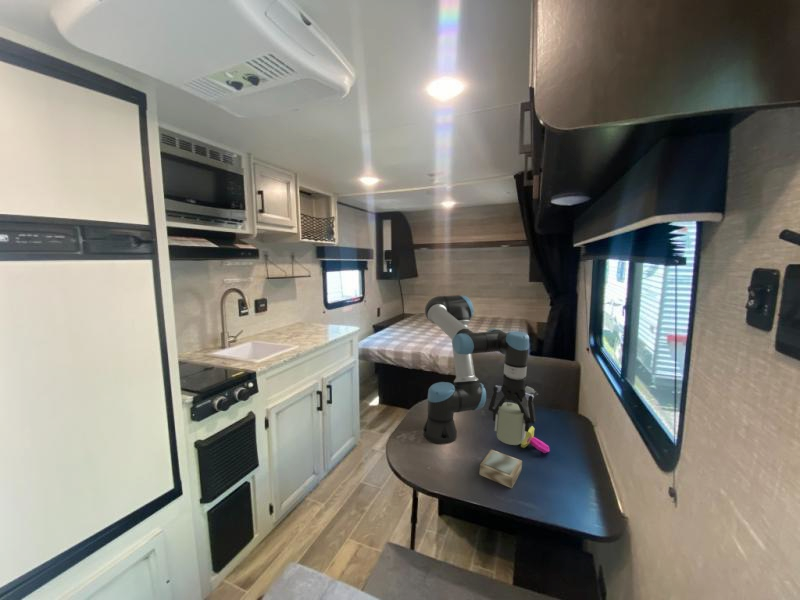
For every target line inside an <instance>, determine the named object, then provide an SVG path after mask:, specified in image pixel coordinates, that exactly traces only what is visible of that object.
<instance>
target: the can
mask: <svg viewBox="0 0 800 600" xmlns="http://www.w3.org/2000/svg"><path fill="white" fill-rule="evenodd" d="M498 412H499V415H498V428H497V431H496V438H497V439H498V440H499V441H500V442H502V443H504V444H506V445H509V446H510V445H511V446H512V445H513V446H518V445H521V443H522V442H523V440H521V438H522V426H523V422H524V418H523V415H524V413H521V410H520V408H519V406H518V404H517V403H516V402H515V403H514V402H509V401H508V402H507V401H505V402H504V403H503V405H502V406H501V407H500V406H499V410H498Z"/></svg>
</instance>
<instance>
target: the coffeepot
mask: <svg viewBox="0 0 800 600" xmlns="http://www.w3.org/2000/svg"><path fill="white" fill-rule="evenodd" d="M525 391H526V393H528V394H534V398H536V396H538V395H539V393H538V392H537V391H536V390H535V389H534V388H533V387H530V386H528V384H527V383H525ZM523 401H524V405H525V407H526V410H527V412H528V415H529V417H530V414H529V407H528V400H527V399H526V397H525V396H524V397H523Z"/></svg>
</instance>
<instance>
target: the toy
mask: <svg viewBox="0 0 800 600" xmlns="http://www.w3.org/2000/svg"><path fill="white" fill-rule="evenodd" d="M530 444H531V446H533V447H534V448H535V449H536V450H539V451H540V452H542V453H543V454H546V453H549V452H550V451H551V450H550V446H549V445H548V444H546V443H545V442H544V441H542V440H540V439H538V438H537V437H535V427H534V426H533V425H531V426H529V430H528V432H526V436H525V439H524V441H523V442H522V443H521V444H520V448H523V449H526V447H527V446H529V445H530Z"/></svg>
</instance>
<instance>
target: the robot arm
mask: <svg viewBox="0 0 800 600" xmlns="http://www.w3.org/2000/svg"><path fill="white" fill-rule="evenodd" d="M474 312H475V311H474V304H473V302H472V301H471V299H470V298H469V297H468V296H466V295H460V294H459V295H437V296H433V297H432V298H431V299H429V300H428V302H426V305H425V307H424V314H425V317H426V318H427V319H428V321H429V322H430V323H432V324H435V325H437V326H438V328H440V330H442V331H443V333H445V334H446V335H447V336H448V337H449V338H450V339H451V347H452V353H453V355H452V356H453V361H454V369H455V379H454V380H453V383H451V382H448V381H446V382H445V381H439V382H435V383H433V384H432V385H430V387H428V390H427V391H428V392H427V418H426V421H425V424H424V426H423V431H422V433H423V437H424V439H426V440H427V441H429V442H430V443H432V444H433V443H434V444H438V445H446V444H451V443H453V442H454V441H456V439H457V437H458V436H457V435H458V433H457V432H458V431H457V428H456V424H455V420H454V413H461V412H469V411H476V410H480V409H482V408H483V407H484V406H485V404H486V401H487V391H486V388H485V385H484V384H483V383H481V382H480V380H479V378H478V377H477V376H476V374H475V367H474V359H473V355H474V354H481V353H482V354H484V353H485V354H486V353H497V352H498V353H501V355H504V365H503V366H504V367H503V377H502V386H501V385H498V384H495V386H493V388H492V390H493V393H492V397H491V400H490V402H489V406H488V411H491V412H492V413H493V415H492V420H493V422H494V432H497V428H498V415H499V406H500V407H501V406H502V405H503V403H505V402H507V401H512V402H513V403H514V402H515V403H516V404H518V406H519V408H520V410H521V413H524V415H523V418H524V422H523V426H522V438H521V440H523V441H524V439H525V436H526V432H528V430H529V428H530V427H531V426H530V425H531V424H535V423H536V421H537V417H536V409H535V405H534V399H535V397H534V394H528V393H526V391H525V383H526V382H527V381H526V380H527V369H528V360H529V359H528V358H529V349H530V336H529V335H528V333H525V332H523V331H513V330H512V331H508V332H505V331H503V330H501V329H499V328H490V329H489V330H487V331H484V332H482V331H481V332H473V331H472V330H471V329H469V326H468V325H469V324H470V323H471V319H472V318H473V316H474ZM526 384H527V383H526ZM500 392H502V393H503V397H502V398H501V400H500V401H499V403H498V404H497V405H495V404H496V401H497V398H498V395H499V393H500ZM524 396H525V397H526V399H527V400H528V407H529V414H530V417H529V415H528V412H527V410H526V407H525V405H524V401H523V397H524ZM495 406H496V407H495Z"/></svg>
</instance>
